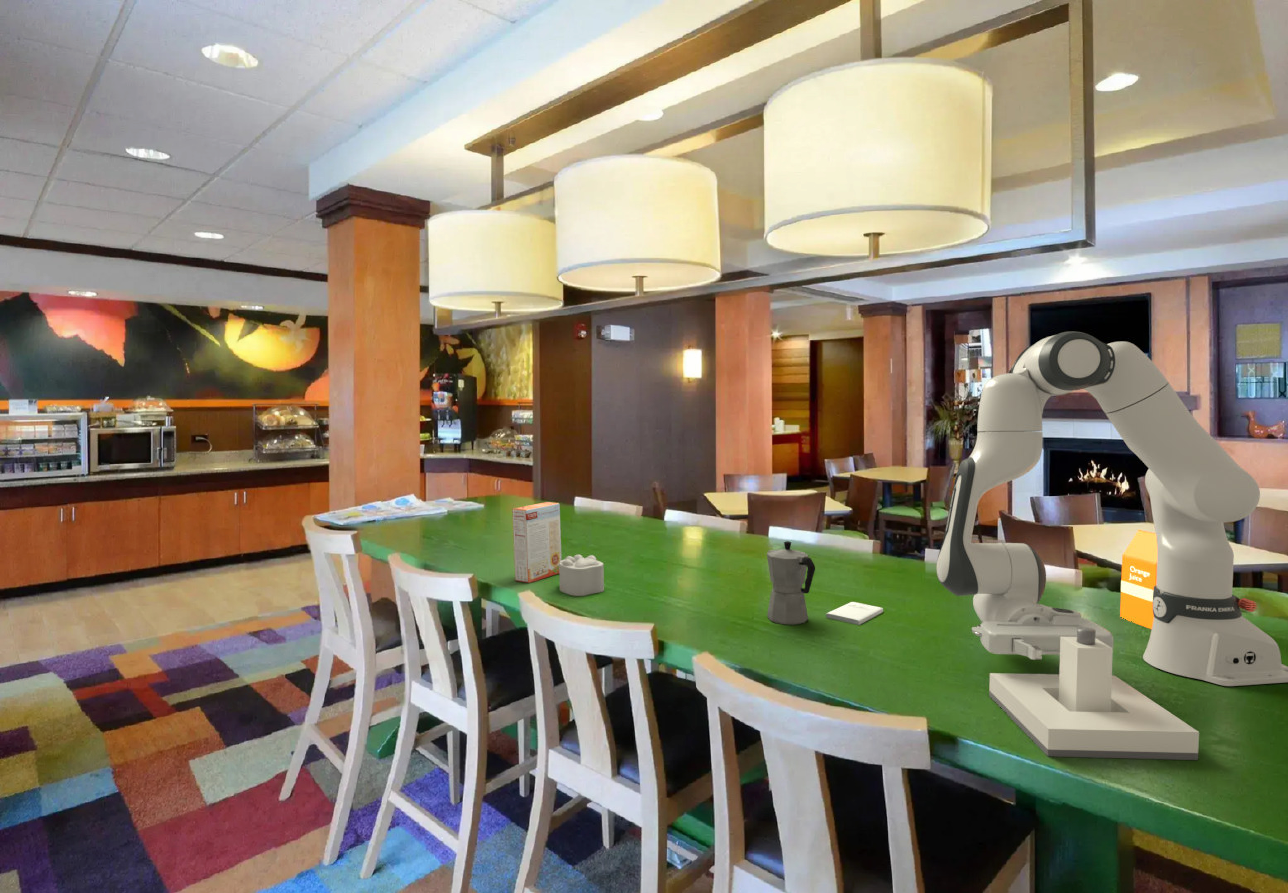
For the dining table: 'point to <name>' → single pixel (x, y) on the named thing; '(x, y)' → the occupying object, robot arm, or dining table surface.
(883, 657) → the dining table surface
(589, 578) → the lumpy-topped squat cylinder
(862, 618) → the external hard drive
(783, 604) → the coffeepot
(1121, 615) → the orange juice
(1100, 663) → the plug
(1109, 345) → the robot arm
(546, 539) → the cracker box
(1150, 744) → the socket block
